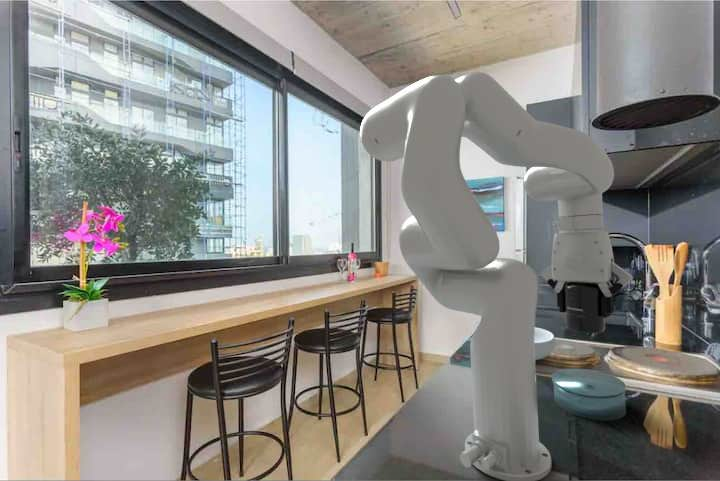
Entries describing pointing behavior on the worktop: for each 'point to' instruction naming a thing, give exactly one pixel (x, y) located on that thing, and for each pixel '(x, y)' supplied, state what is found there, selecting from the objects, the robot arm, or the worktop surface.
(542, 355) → the cereal bowl
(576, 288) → the supplement bottle
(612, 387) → the biscuit tin
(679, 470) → the worktop surface
